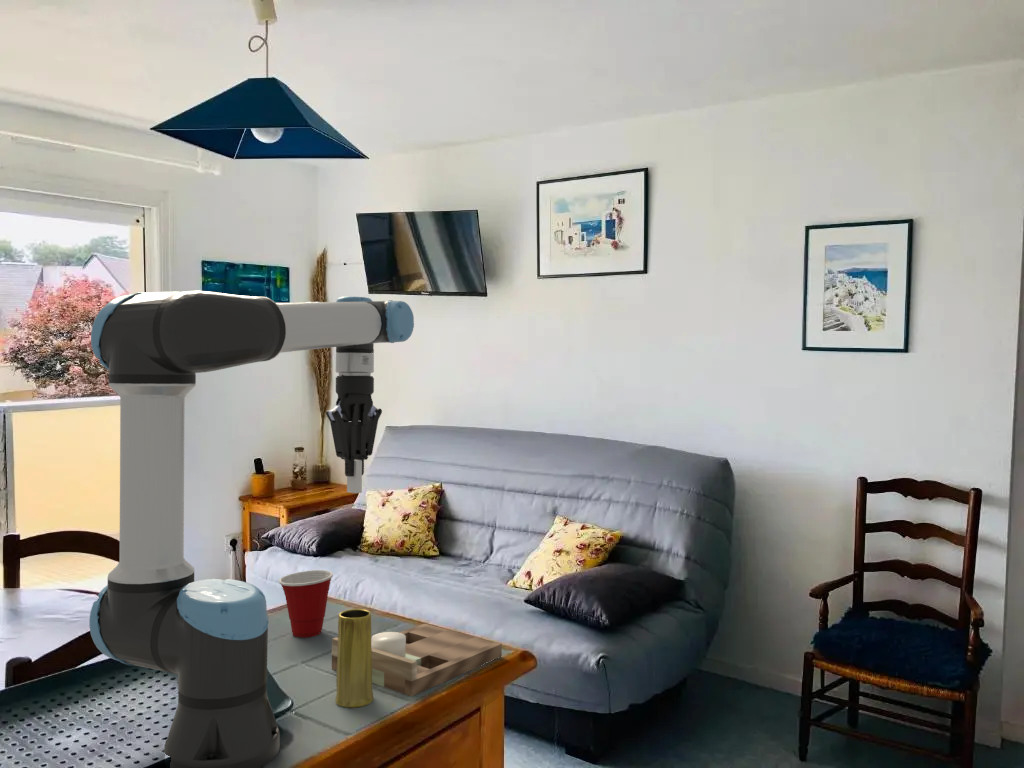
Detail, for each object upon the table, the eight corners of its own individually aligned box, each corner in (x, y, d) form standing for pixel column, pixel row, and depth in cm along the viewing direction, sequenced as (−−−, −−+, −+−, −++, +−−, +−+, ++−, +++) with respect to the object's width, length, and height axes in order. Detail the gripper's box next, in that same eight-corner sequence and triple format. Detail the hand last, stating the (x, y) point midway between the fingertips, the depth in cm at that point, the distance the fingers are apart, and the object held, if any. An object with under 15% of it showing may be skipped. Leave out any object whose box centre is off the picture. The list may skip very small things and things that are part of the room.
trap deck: (411, 696, 134) (411, 663, 134) (331, 669, 146) (331, 638, 146) (501, 657, 153) (501, 627, 153) (424, 635, 165) (424, 608, 165)
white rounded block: (384, 668, 140) (384, 645, 140) (364, 659, 144) (364, 636, 144) (412, 660, 144) (412, 637, 144) (392, 651, 148) (392, 629, 148)
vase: (370, 691, 136) (370, 606, 136) (376, 705, 130) (376, 617, 130) (333, 696, 134) (333, 609, 134) (337, 710, 128) (338, 620, 128)
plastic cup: (283, 625, 171) (283, 569, 171) (335, 624, 172) (335, 568, 172) (273, 642, 160) (274, 582, 160) (329, 641, 162) (329, 581, 162)
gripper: (342, 374, 155) (341, 497, 156) (391, 374, 166) (391, 490, 166) (316, 374, 160) (316, 494, 160) (366, 374, 170) (365, 487, 171)
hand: (354, 492), depth 163 cm, fingers closed
